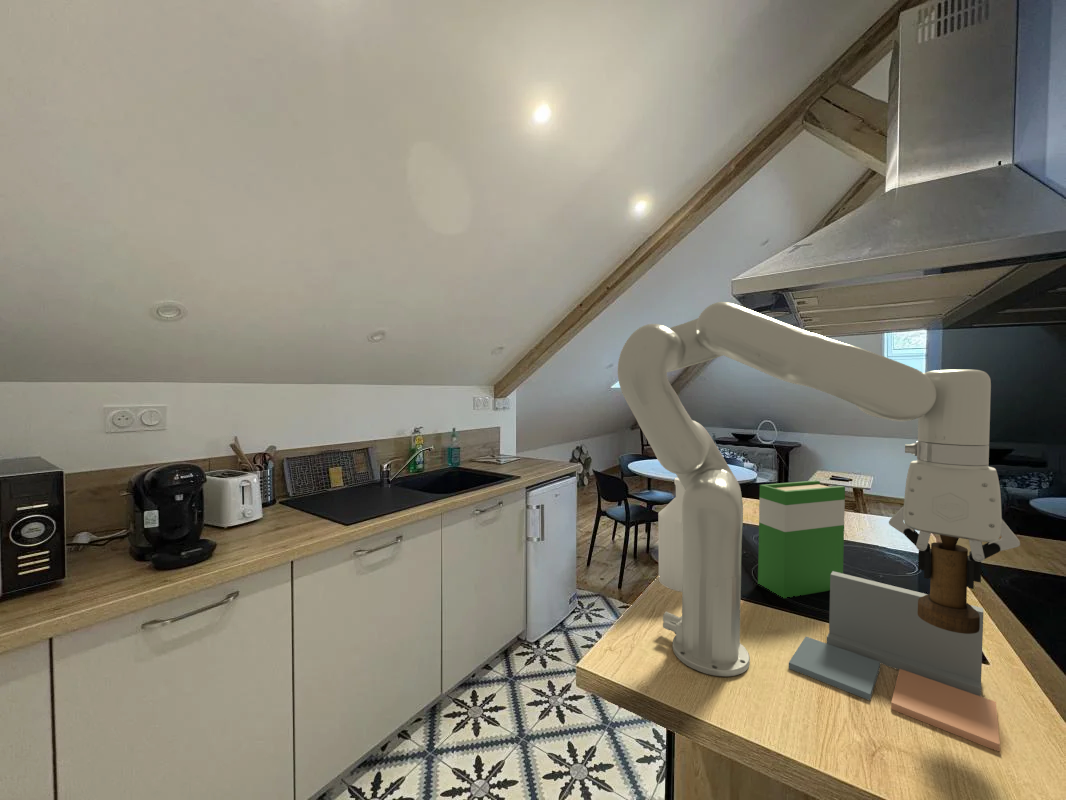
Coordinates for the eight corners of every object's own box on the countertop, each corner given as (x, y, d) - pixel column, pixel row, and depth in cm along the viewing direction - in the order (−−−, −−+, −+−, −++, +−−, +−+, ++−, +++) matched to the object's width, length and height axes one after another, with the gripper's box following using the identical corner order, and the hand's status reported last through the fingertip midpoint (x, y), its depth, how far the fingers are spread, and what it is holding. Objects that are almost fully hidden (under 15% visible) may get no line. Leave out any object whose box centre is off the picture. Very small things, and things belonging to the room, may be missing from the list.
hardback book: (814, 575, 112) (816, 480, 111) (842, 588, 105) (845, 486, 104) (757, 584, 107) (759, 484, 106) (783, 598, 100) (785, 491, 99)
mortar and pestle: (913, 620, 65) (916, 498, 65) (921, 606, 70) (923, 491, 69) (977, 639, 60) (981, 508, 60) (981, 623, 65) (984, 499, 64)
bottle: (684, 597, 100) (686, 486, 99) (647, 577, 110) (648, 477, 110) (720, 586, 106) (721, 481, 105) (681, 568, 116) (682, 472, 115)
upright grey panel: (826, 644, 82) (828, 577, 81) (833, 632, 86) (835, 568, 86) (981, 698, 68) (983, 617, 67) (980, 679, 72) (982, 603, 72)
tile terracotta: (891, 709, 65) (891, 702, 65) (899, 674, 73) (899, 668, 73) (999, 752, 58) (999, 744, 58) (995, 708, 66) (995, 701, 66)
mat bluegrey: (788, 668, 75) (788, 662, 75) (805, 641, 83) (805, 636, 83) (869, 700, 67) (870, 694, 67) (880, 667, 75) (880, 662, 75)
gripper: (875, 452, 68) (873, 571, 68) (1042, 465, 56) (1037, 609, 56) (882, 447, 73) (879, 558, 73) (1035, 458, 61) (1031, 590, 62)
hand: (948, 579), depth 65 cm, fingers closed on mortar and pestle, 3 cm apart
